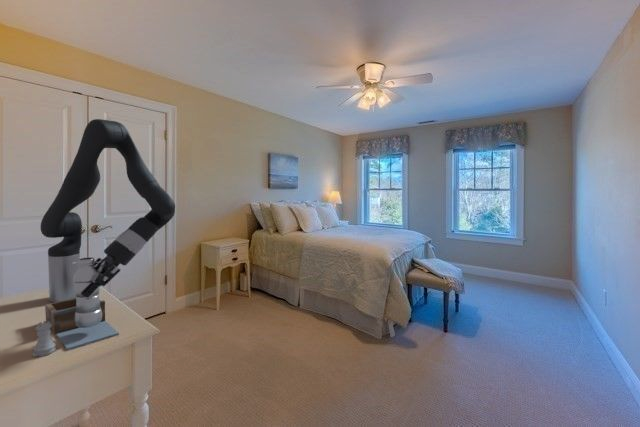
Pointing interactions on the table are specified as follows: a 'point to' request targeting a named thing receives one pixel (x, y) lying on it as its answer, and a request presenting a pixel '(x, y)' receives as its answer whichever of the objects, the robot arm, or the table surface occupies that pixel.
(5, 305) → the table surface
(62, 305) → the holder
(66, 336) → the mat
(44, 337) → the rook chess piece
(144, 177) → the robot arm
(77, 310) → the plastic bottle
